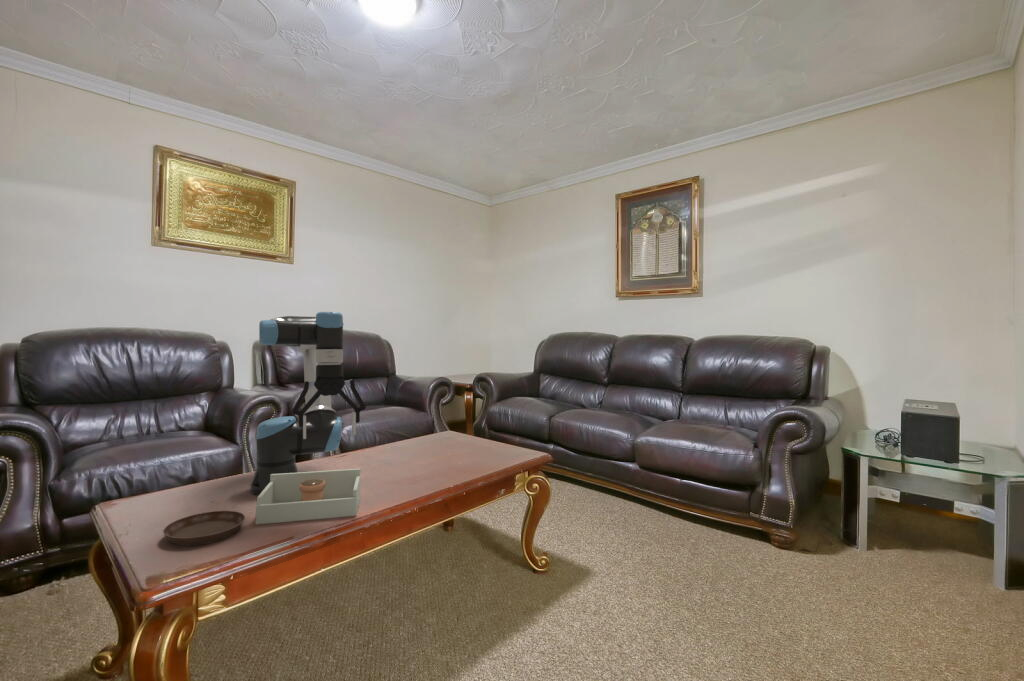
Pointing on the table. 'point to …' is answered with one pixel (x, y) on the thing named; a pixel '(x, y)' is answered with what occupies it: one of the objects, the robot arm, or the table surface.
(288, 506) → the frame
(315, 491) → the terracotta pot
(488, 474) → the table surface
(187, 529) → the plant saucer
